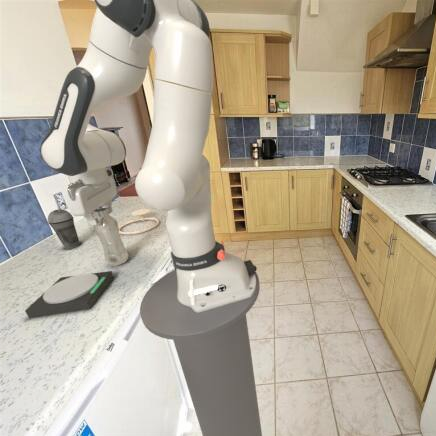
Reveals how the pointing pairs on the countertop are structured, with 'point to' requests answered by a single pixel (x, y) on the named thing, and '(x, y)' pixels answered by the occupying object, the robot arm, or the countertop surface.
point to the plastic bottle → (110, 237)
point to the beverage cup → (64, 227)
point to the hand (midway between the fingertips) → (102, 218)
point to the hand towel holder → (141, 214)
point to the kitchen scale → (71, 294)
